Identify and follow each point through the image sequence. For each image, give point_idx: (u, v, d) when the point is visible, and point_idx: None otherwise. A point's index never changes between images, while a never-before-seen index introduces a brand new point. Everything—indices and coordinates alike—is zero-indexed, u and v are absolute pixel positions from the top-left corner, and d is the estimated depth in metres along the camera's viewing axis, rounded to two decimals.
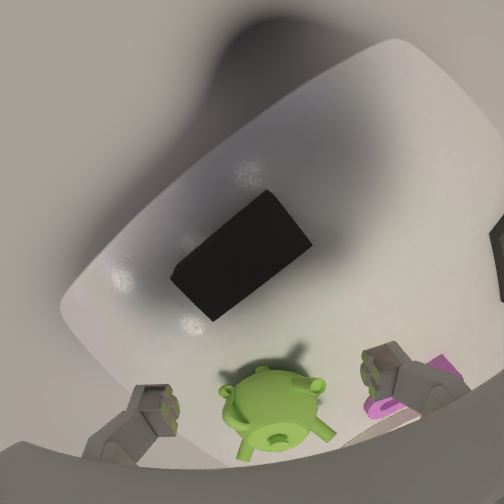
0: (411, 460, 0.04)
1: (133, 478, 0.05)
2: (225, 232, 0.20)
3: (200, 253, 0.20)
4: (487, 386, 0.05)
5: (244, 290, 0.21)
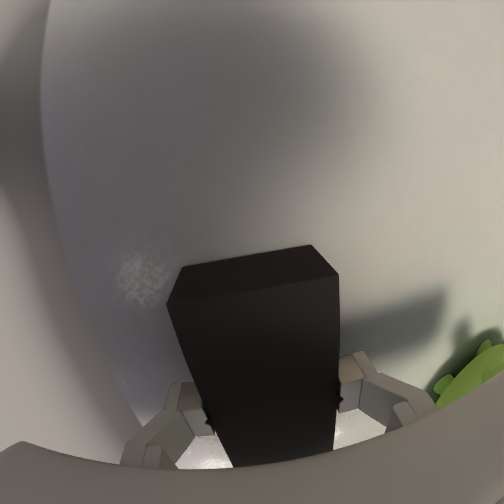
0: (411, 460, 0.04)
1: (133, 478, 0.05)
2: (205, 403, 0.09)
3: (220, 438, 0.10)
4: (487, 386, 0.05)
5: (324, 414, 0.10)
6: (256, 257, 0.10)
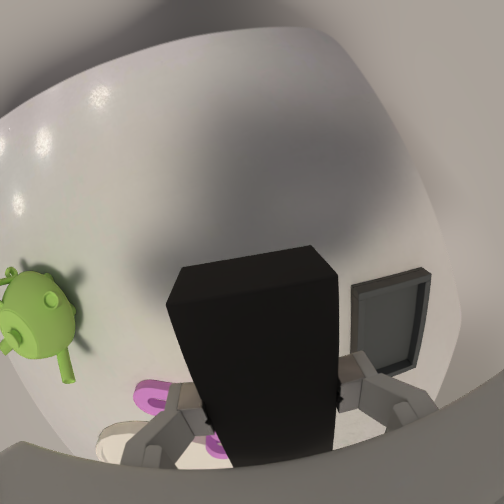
0: (411, 460, 0.04)
1: (133, 478, 0.05)
2: (204, 403, 0.09)
3: (219, 438, 0.10)
4: (487, 386, 0.05)
5: (323, 414, 0.10)
6: (256, 257, 0.10)
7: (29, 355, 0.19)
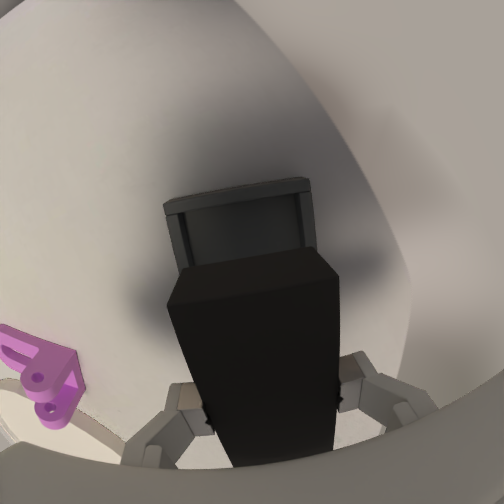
0: (411, 460, 0.04)
1: (133, 478, 0.05)
2: (205, 404, 0.09)
3: (220, 438, 0.10)
4: (487, 386, 0.05)
5: (324, 415, 0.10)
6: (256, 258, 0.10)
7: None
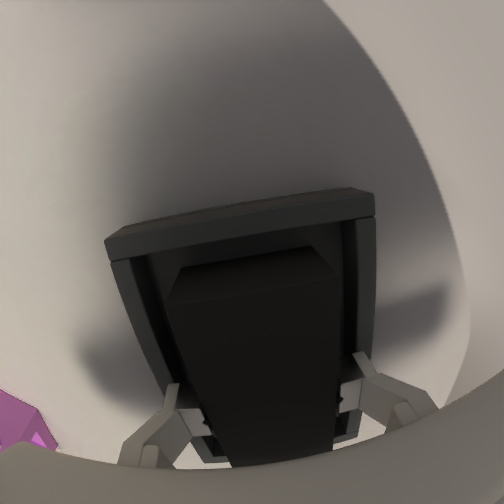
0: (411, 460, 0.04)
1: (133, 478, 0.05)
2: (203, 405, 0.09)
3: (219, 439, 0.10)
4: (487, 386, 0.05)
5: (323, 415, 0.09)
6: (255, 258, 0.10)
7: None
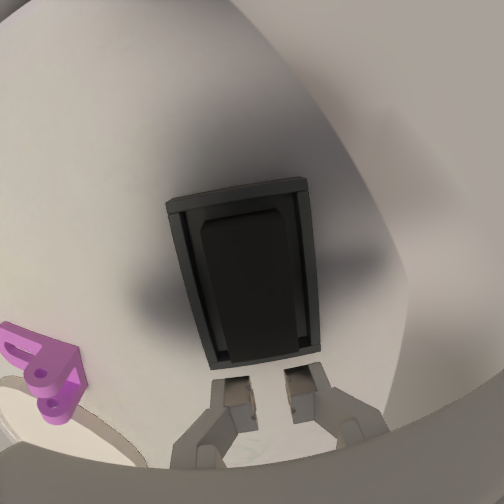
0: (411, 460, 0.04)
1: (133, 478, 0.05)
2: (215, 296, 0.17)
3: (223, 328, 0.18)
4: (487, 386, 0.05)
5: (287, 310, 0.18)
6: (245, 214, 0.19)
7: None
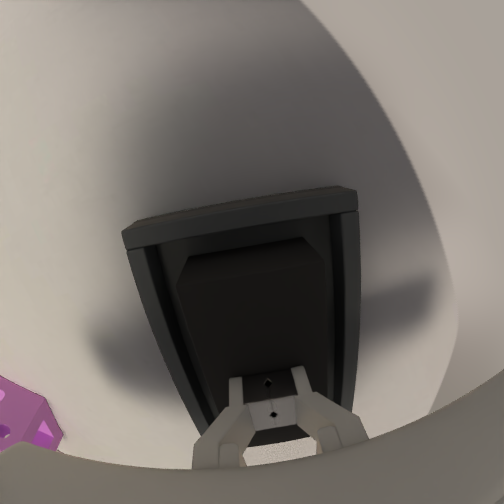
0: (411, 460, 0.04)
1: (133, 478, 0.05)
2: (207, 379, 0.10)
3: None
4: (487, 386, 0.05)
5: None
6: (253, 247, 0.11)
7: None
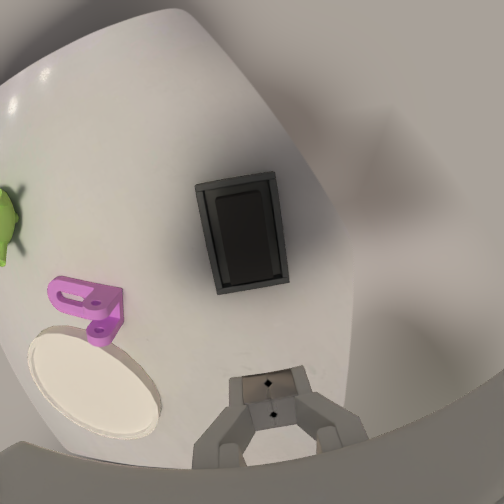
0: (411, 460, 0.04)
1: (133, 478, 0.05)
2: (222, 238, 0.31)
3: (226, 259, 0.32)
4: (487, 386, 0.05)
5: (264, 248, 0.31)
6: (240, 193, 0.32)
7: None
